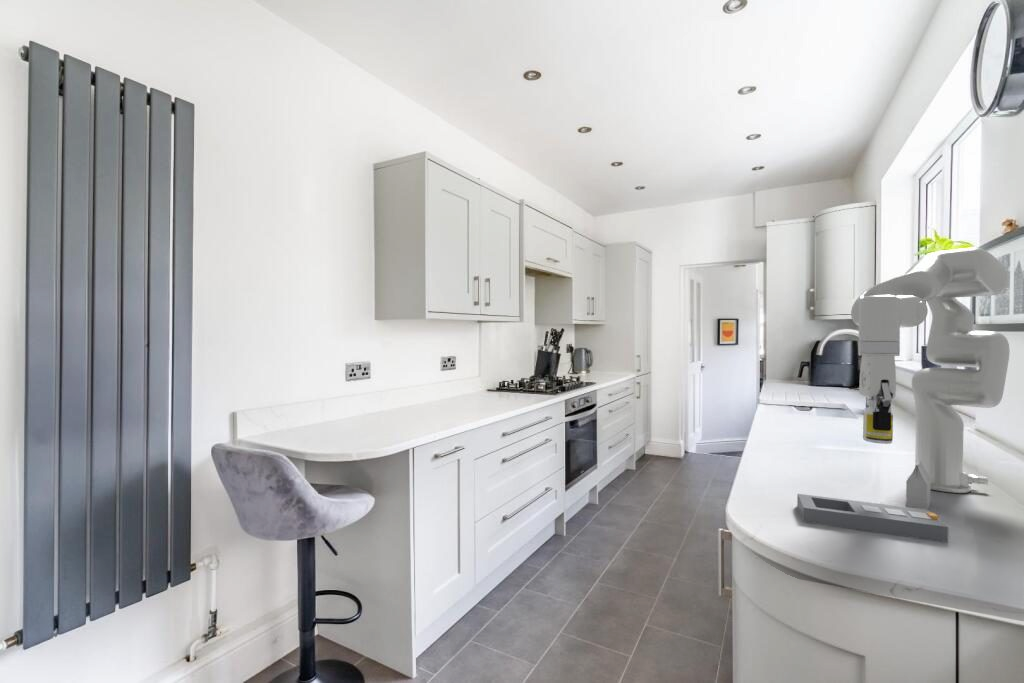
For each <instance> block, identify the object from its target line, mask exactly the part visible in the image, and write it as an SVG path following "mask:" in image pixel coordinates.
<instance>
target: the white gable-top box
mask: <svg viewBox="0 0 1024 683" xmlns="http://www.w3.org/2000/svg"><path fill="white" fill-rule="evenodd" d="M909 476H910V477H909V478H908V477H907V480H906V486H905V487H906V489H905V491H906V492H905V493H906V494H905V496H906V498H905V507H909V508H918V509H926V510H929V507H930V505H931V496H932V494H931V478H930V477H929V475H928V473H927V471H926V470H925V468H924V466H923V464H922V460H921V461H920V460H919V462H918V463H917V464H916V466H915V465H914V469H913V471H912V472H911V474H910V475H909Z"/></svg>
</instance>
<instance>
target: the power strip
mask: <svg viewBox="0 0 1024 683" xmlns="http://www.w3.org/2000/svg"><path fill="white" fill-rule="evenodd" d="M796 497H797V499H796V500H797V501H796V502H797V504H796V507H797V509H798V511H799V513H800V517H801V518H802V521H803V522H805V523H810V524H818V525H825V526H831V527H832V526H833V527H838V528H846V529H853V530H858V531H859V530H860V531H865V532H866V531H868V532H872V533H880V534H886V535H887V534H888V535H893V534H894V535H895V536H900V537H908V538H915V539H921V540H928V541H930V540H931V541H936V542H943V543H948V542H949V526H948V525H947V524H945V523H944V522H943V521H942V520H940V519H939V516H938V515H937V514H936V513H935V512H931V511H930V510H929V509H927V510H926V509H918V508H914V507H909V506H899V505H892V504H885V503H876V502H869V501H858V500H852V499H851V500H850V499H843V498H837V497H835V498H834V497H827V496H821V495H820V496H819V495H812V494H811V495H810V494H804V493H803V494H802V493H797V496H796Z"/></svg>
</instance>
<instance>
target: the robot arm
mask: <svg viewBox="0 0 1024 683" xmlns="http://www.w3.org/2000/svg"><path fill="white" fill-rule="evenodd" d="M1008 283H1009V273H1008V270H1007V269H1006V267H1005V266H1004V265H1003V264H1002V262H1001V261H999V259H997V258H996V257H995V255H993V254H992V253H990V252H989V251H988V250H985V249H983V248H981V247H967V248H958V249H949V250H939V251H935V252H930V253H927V254H925V255H923V256H922V257H920V258H919V259H918V260H917V261H915V263H913V264H912V266H910V268H909V269H908V270H907V271H906V272H905V273H903V274H901V275H899V276H896V277H893V278H891V279H888V280H886V281H883V282H880V283H878V284H876V285H873V286H871V287H869V288H868V289H866V290H865V291H863V292H862V293H861V294H860V295H859V296H858V297H857V298H856V300H855V301H854V303H853V304H852V306H851V311H850V317H851V320H852V322H853V323H854V324H855V325H857V326H858V356H861V358H860V359H861V360H860V367H859V368H860V370H859V382H858V383H859V386H858V388H859V389H858V392H859V394H860V395H861V396H862V397H864V398H865V408H868V407H869V405H867V401H868V399H872V398H874V407H875V412H873V429H875V430H887V431H890V430H891V411H892V401H893V400H894V399H895V398H896V391H897V390H896V389H897V388H896V386H897V378H896V377H897V376H896V374H897V373H896V358H895V357H899V356H900V355H901V354H900V352H901V350H900V349H901V348H900V347H901V346H900V345H901V342H900V340H901V335H900V334H901V329H900V328H913V327H917V326H920V325H921V324H922V323H923V322H924V321H925V320H926V318H927V316H928V312H929V310H930V312H931V316H932V317H931V318H932V319H931V324H930V330H929V335H928V338H927V344H926V352H925V353H926V354H925V355H926V358H927V361H928V362H930V363H932V365H933V364H934V365H937V366H944V367H925V368H921V369H919V370H917V371H916V372H915V373H914V374H913V375H912V378H911V389H912V394H913V399H914V405H915V406H914V407H915V444H914V446H915V447H914V448H915V449H914V450H915V453H914V454H915V455H914V457H915V458H914V467H915V466H916V464H917V463H918V462H919V460H920V461H921V460H922V464H923V466H924V468H925V470H926V471H927V473H928V475H929V477H930V478H931V490H933V491H938V492H944V493H954V494H964V493H965V494H966V493H970V492H971V491H972V487H971V485H972V484H977V485H986V486H987V485H989V479H988V477H986V476H980V475H979V476H977V475H975V474H968V473H967V472H965V471H964V431H965V430H964V428H965V427H964V421H963V419H962V417H961V415H960V414H959V413H958V412H957V411H956V409H955V408H954V407H953V406H959V407H969V408H980V409H981V408H982V409H983V408H985V409H990V408H991V409H992V408H996V407H997V406H998V405H999V404H1000V403H1001V401H1002V399H1003V396H1004V390H1005V386H1006V385H1005V384H1006V378H1007V373H1008V367H1009V362H1010V354H1011V353H1010V344H1009V340H1008V339H1007V337H1006V336H1005V335H1004V334H1003V333H1000V332H997V331H993V330H974V325H975V315H974V313H973V312H972V311H971V310H970V308H968V307H967V306H966V305H965V304H963V303H962V302H960V300H958V299H957V298H970V297H990V296H996V295H1000V294H1001V293H1002V292H1004V291H1005V290H1006V288H1007V287H1008V285H1009V284H1008ZM928 307H929V310H928ZM949 367H960V368H949ZM962 367H965V368H967V369H965V368H964V369H963V368H962ZM968 368H978V369H968ZM878 402H880V403H879V404H878ZM909 477H910V475H908V476H907V479H908V478H909Z"/></svg>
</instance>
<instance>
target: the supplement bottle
mask: <svg viewBox="0 0 1024 683" xmlns="http://www.w3.org/2000/svg"><path fill="white" fill-rule="evenodd" d="M879 403H880V402H878V404H879ZM867 405H869V407H868V408H866V407H865V408H864V409H863V420H862V421H863V423H862V424H863V425H862V426H863V428H862V429H863V431H862V439H863V440H864V441H865V442H869V443H873V444H881V445H882V444H885V445H887V444H889V445H890V444H893V435H894V433H893V432H894V428H893V427H894V423H893V422H894V419H893V418H894V413H893V411H892V410H891V430H890V431H887V430H875V429H873V412H875V407H874V398H872V399H868V401H867Z"/></svg>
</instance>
